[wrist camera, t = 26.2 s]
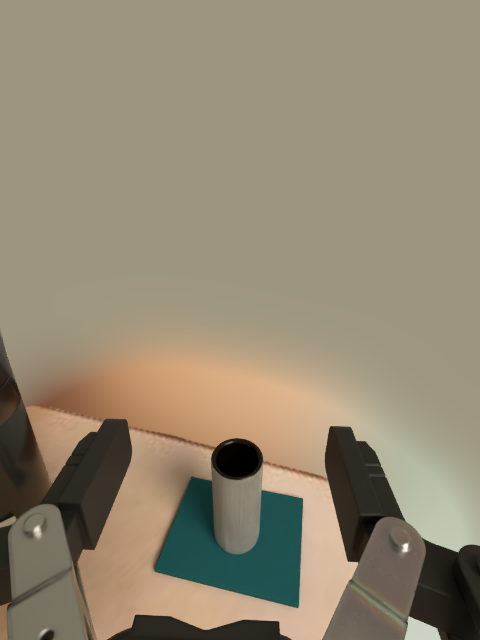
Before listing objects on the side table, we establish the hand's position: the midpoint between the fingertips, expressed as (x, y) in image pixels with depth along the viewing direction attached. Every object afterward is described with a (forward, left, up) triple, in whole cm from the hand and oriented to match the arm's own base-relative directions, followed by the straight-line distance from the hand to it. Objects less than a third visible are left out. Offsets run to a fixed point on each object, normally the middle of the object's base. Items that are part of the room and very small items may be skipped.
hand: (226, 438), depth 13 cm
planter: (-2, +11, -24) cm, 26 cm away
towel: (-2, +11, -24) cm, 26 cm away
